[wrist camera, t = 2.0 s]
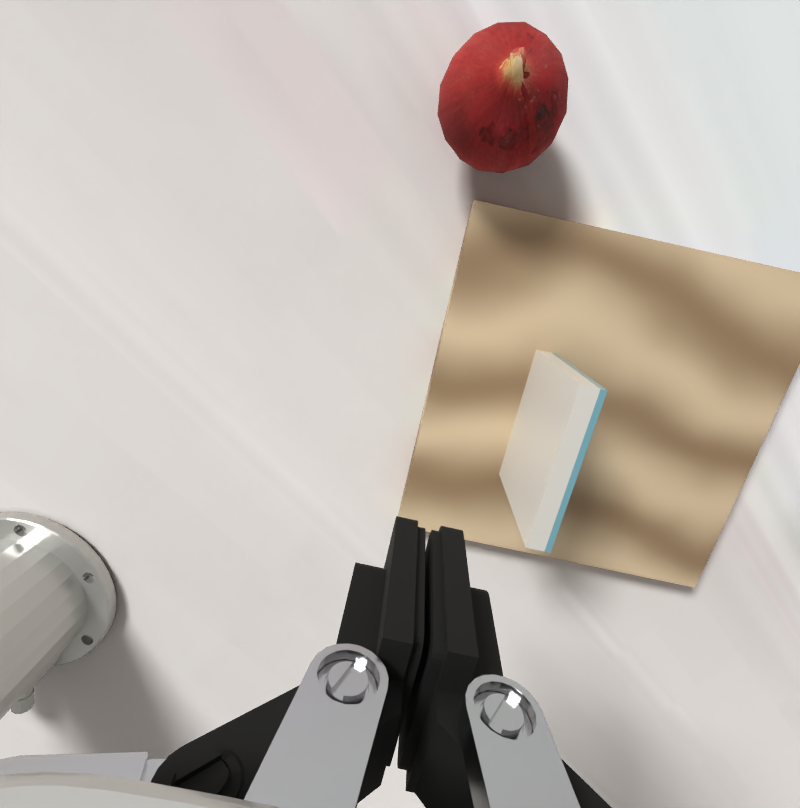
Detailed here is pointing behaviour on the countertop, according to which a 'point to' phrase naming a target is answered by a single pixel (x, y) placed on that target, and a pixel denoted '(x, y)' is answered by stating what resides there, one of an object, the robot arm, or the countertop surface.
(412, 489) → the board
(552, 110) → the onion
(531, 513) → the tile
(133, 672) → the countertop surface
